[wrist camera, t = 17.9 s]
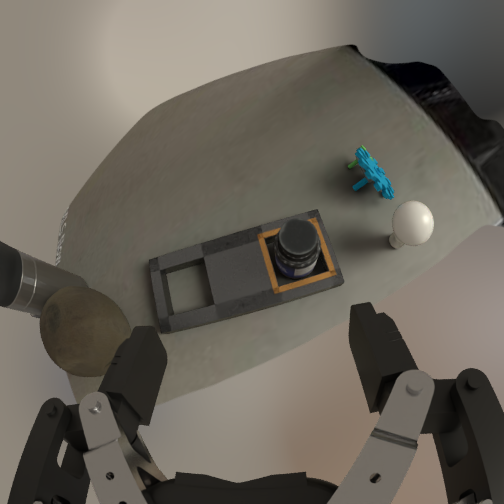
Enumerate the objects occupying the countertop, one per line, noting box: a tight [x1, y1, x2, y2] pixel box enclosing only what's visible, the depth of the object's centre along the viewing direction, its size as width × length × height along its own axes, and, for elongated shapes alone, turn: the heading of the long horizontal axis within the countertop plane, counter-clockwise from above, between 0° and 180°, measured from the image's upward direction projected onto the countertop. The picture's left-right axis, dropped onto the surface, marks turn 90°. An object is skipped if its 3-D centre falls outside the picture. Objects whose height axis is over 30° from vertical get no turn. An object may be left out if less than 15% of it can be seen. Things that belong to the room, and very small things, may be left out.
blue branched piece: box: [348, 145, 394, 200], centre depth 43 cm, size 11×6×10 cm
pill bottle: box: [274, 218, 321, 279], centre depth 38 cm, size 6×6×11 cm
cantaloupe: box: [40, 286, 131, 377], centre depth 36 cm, size 14×14×15 cm
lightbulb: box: [389, 201, 434, 248], centre depth 36 cm, size 6×6×11 cm
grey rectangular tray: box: [149, 209, 344, 334], centre depth 42 cm, size 28×12×3 cm, turn 105°
